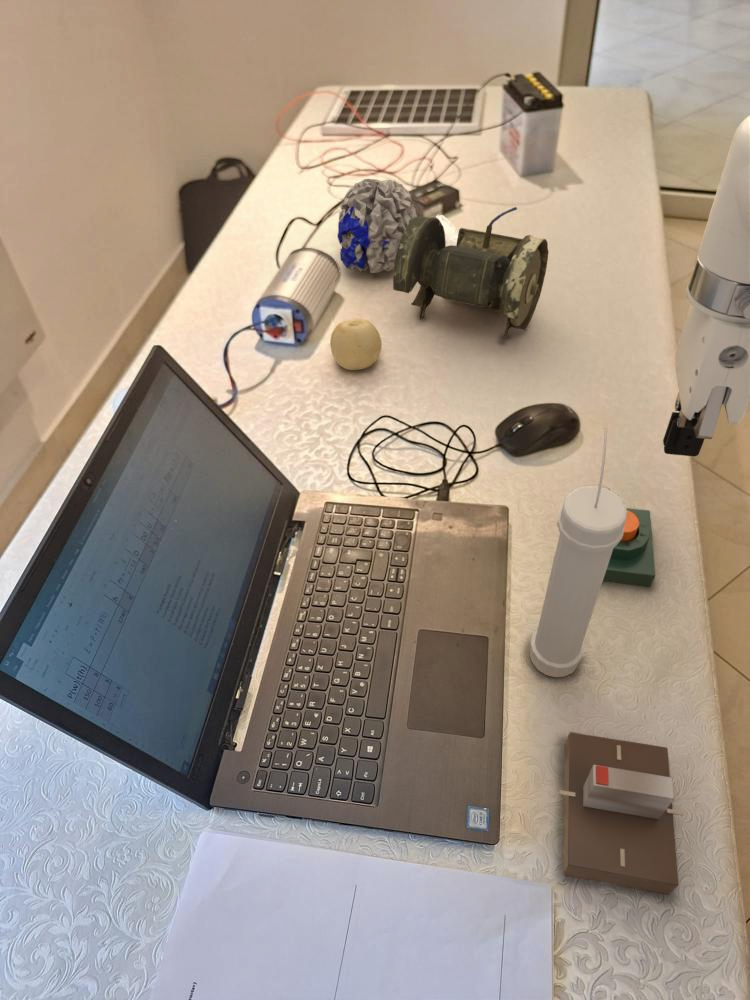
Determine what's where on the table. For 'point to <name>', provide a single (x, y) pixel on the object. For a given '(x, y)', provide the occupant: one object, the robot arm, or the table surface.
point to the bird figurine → (449, 231)
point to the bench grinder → (472, 269)
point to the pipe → (577, 575)
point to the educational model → (373, 224)
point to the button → (630, 527)
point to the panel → (616, 820)
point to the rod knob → (627, 792)
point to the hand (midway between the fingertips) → (679, 449)
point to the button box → (634, 556)
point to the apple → (355, 344)
